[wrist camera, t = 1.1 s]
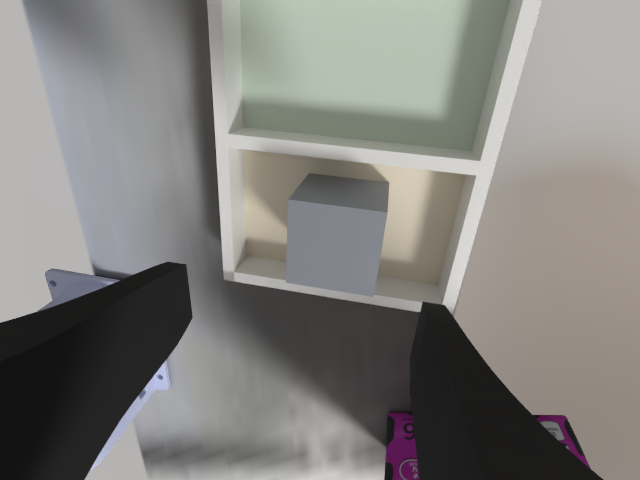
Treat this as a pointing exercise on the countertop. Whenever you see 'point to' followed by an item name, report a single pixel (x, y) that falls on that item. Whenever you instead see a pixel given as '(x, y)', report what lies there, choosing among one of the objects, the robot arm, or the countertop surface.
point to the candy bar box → (403, 448)
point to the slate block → (336, 233)
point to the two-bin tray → (363, 126)
